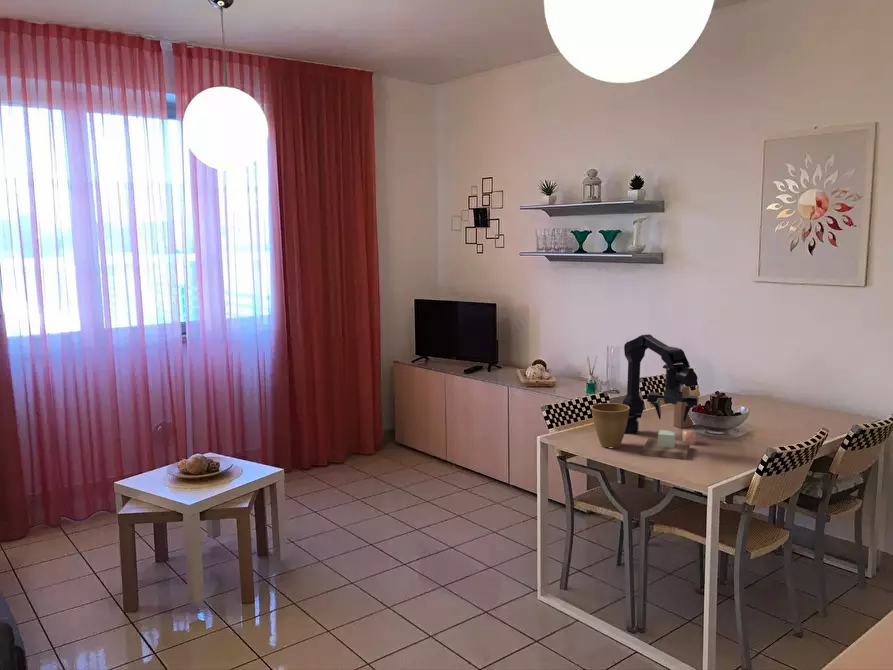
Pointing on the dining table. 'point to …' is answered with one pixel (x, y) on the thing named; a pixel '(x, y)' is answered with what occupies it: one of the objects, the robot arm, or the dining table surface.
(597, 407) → the plant pot
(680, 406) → the wooden block
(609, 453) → the dining table surface
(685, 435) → the salmon pink cube
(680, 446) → the walnut base
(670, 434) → the sage cube
